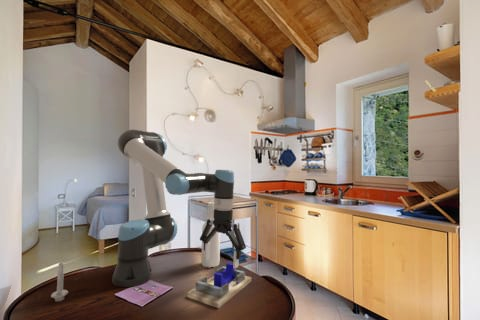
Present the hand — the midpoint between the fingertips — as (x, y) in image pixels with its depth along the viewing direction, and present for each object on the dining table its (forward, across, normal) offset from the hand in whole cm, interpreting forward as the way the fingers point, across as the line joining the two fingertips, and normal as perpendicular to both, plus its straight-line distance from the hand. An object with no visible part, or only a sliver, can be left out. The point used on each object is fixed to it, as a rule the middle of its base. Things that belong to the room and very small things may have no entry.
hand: (221, 263), depth 98 cm
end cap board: (+10, +1, 0) cm, 10 cm away
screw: (+11, -42, -37) cm, 57 cm away
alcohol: (+10, -17, +17) cm, 26 cm away
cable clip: (+8, +1, +1) cm, 8 cm away
